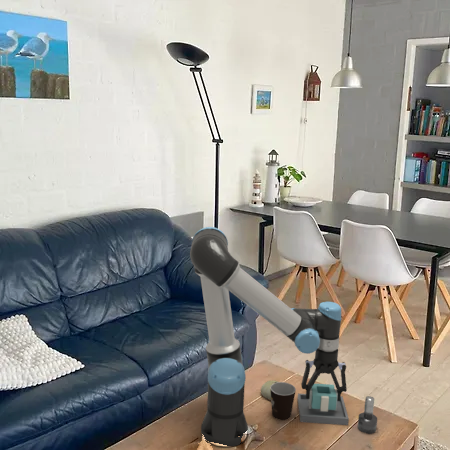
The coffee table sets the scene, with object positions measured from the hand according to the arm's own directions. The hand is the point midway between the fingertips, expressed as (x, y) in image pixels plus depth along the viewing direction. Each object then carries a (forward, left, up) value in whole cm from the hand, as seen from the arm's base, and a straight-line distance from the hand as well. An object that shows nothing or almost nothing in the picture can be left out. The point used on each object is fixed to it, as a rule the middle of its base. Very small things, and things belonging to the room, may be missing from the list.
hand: (322, 407), depth 184 cm
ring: (0, 0, +2) cm, 2 cm away
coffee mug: (-14, -2, -2) cm, 14 cm away
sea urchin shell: (-17, +9, -2) cm, 19 cm away
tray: (0, 0, -2) cm, 2 cm away
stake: (+14, -8, -2) cm, 16 cm away
